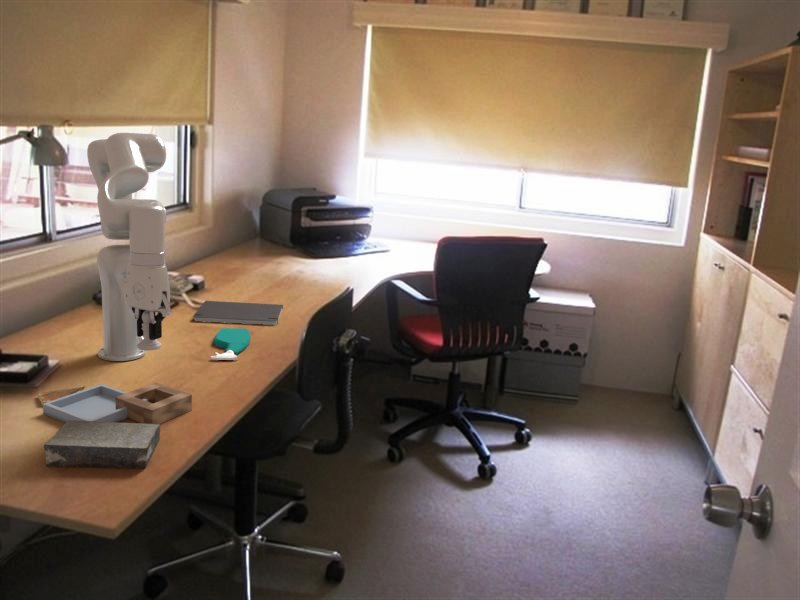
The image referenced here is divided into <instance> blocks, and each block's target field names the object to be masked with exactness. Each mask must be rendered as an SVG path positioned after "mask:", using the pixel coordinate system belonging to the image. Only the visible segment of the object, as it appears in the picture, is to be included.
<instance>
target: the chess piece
mask: <svg viewBox="0 0 800 600" xmlns="http://www.w3.org/2000/svg"><path fill="white" fill-rule="evenodd" d="M155 314H156V315H157V312H155ZM142 320H143V323H142V330H143V336H142V337H143V340H142V341H141V342H139V343H138V344H137V347H138V348H139V349H140V350H145V351H155V350H158V349H160V348H161V347H162V343H161V342H160V341H159V340H157V339H155V340H150V339H149V323H151V318H150V311H144V312H143V314H142Z"/></svg>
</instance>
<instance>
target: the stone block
mask: <svg viewBox="0 0 800 600" xmlns="http://www.w3.org/2000/svg"><path fill="white" fill-rule="evenodd" d="M160 432H161V424H145V423H140V422H137V423H136V422H120V421H119V422H95V421H69V420H68V421H67V422H66V423H65V422H64V424H63V425H62V426H61V427H60V428H59V429H58V431H56V433H54V435H53V436H52V437H51V438H49V439H48V440H47V441H46V442H45V443H44V445H43V448H44V449H43V450H44V452H45V467H46V466H47V467H46V468H74V469H75V468H76V467H77V468H80V467H81V468H84V467H85V468H88V469H89V468H93V469H95V468H96V469H98V468H99V469H119V470H120V469H122V470H123V469H124V470H130V469H132V470H134V469H135V470H137V469H145V468H147V467H148V465H149V463H150V461H151V459H152V457H153V455H154V452H155V450H156V449H157V446H158V444H159V442H160V440H161V435H160V434H161V433H160ZM77 468H76V469H77Z"/></svg>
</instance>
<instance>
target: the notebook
mask: <svg viewBox="0 0 800 600" xmlns="http://www.w3.org/2000/svg"><path fill="white" fill-rule="evenodd" d="M283 309H284V304H279V303H278V304H276V303H257V302H256V303H255V302H236V301H235V302H234V301H218V300H217V301H216V300H215V301H214V300H205V301H204V302H203V303H202V304H201V305H200V307H199V308H198V309H197V310H196V312H195V313H194V314H193V321H194V320H195V321H205V322H204V323H211V322H221V323H220V324H232V323H242V324H241V325H252V324H263V325H262V326H272V325H273V326H276V324H277V323H279V319H280V317H279V316H281V314H280V313H282V311H283ZM195 321H194V322H195ZM224 322H225V323H224ZM277 325H278V324H277Z"/></svg>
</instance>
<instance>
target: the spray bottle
mask: <svg viewBox="0 0 800 600" xmlns="http://www.w3.org/2000/svg"><path fill="white" fill-rule="evenodd" d="M250 342H251V332H250V331H249V330H248V329H247V328H235V327H233V328H232V327H229V328H228V327H223V328H221V329H219V331H217V333H216V334H215V335H214V338H213V345H214V346H215V345H216V346H215V347H217V346H218V347H217V348H220V347H221V349H223V348H226V349H224V351H223V353H221V354H220V353H218V352H217V351H216V352H214V354H215V355H211V356H210V360H211V361H218V360H234V361H236V360H235V359H238V354H241V353H242V352H243V351H245V350H246V349H247V348H248V347H249V344H250ZM247 346H248V347H247ZM245 348H246V349H245ZM244 349H245V350H244ZM241 351H242V352H241ZM236 354H237V355H236ZM238 360H239V359H238Z"/></svg>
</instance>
